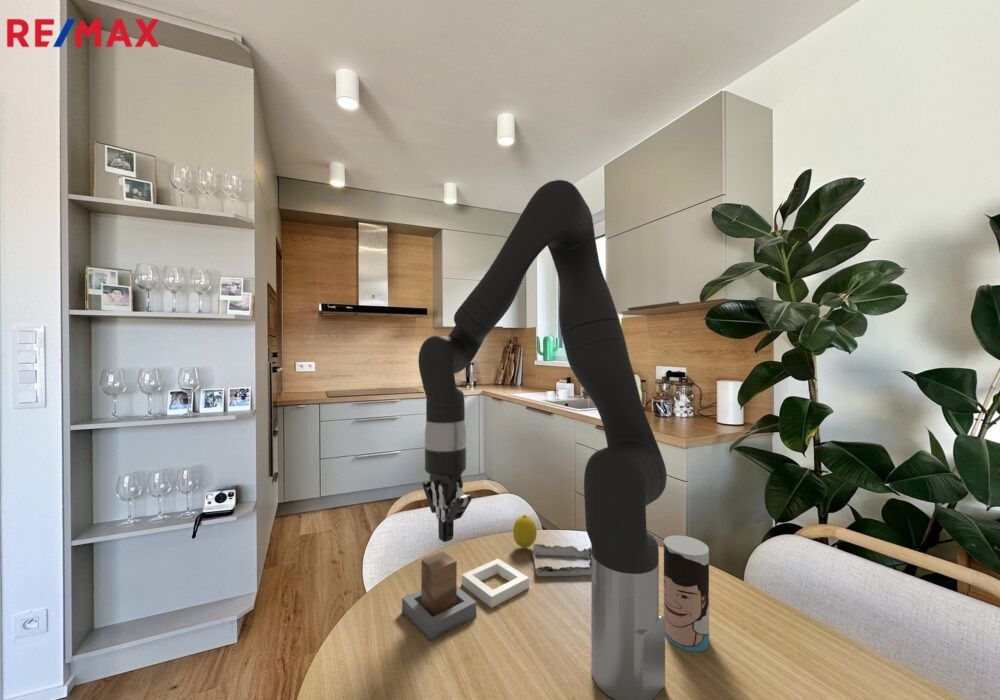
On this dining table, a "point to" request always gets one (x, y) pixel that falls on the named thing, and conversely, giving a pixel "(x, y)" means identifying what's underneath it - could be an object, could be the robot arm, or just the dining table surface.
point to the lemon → (524, 531)
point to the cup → (686, 592)
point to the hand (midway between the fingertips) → (445, 539)
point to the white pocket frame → (502, 593)
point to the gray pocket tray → (442, 621)
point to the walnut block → (438, 583)
